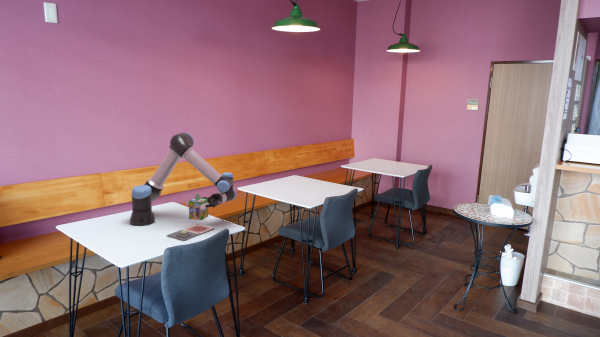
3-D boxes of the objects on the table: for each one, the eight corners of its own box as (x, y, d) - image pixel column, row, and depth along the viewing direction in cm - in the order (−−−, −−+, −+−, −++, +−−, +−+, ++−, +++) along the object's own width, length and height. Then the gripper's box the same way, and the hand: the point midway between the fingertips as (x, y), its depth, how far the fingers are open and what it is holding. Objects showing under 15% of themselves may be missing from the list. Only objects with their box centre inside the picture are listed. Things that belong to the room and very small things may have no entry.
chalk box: (202, 220, 238) (202, 197, 236) (188, 219, 240) (188, 195, 237) (208, 216, 247) (208, 193, 245) (195, 215, 249) (194, 192, 246)
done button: (178, 234, 231) (178, 231, 231) (183, 232, 235) (183, 229, 234) (183, 236, 229) (183, 232, 229) (188, 234, 233) (188, 230, 232)
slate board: (166, 236, 232) (166, 232, 232) (197, 224, 255) (197, 221, 254) (183, 241, 225) (183, 237, 225) (214, 229, 248) (214, 225, 247)
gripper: (232, 207, 253) (208, 215, 234) (204, 201, 264) (180, 208, 245) (232, 195, 252) (208, 203, 233) (204, 190, 263) (179, 197, 244)
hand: (193, 205), depth 239 cm, fingers closed on chalk box, 11 cm apart
